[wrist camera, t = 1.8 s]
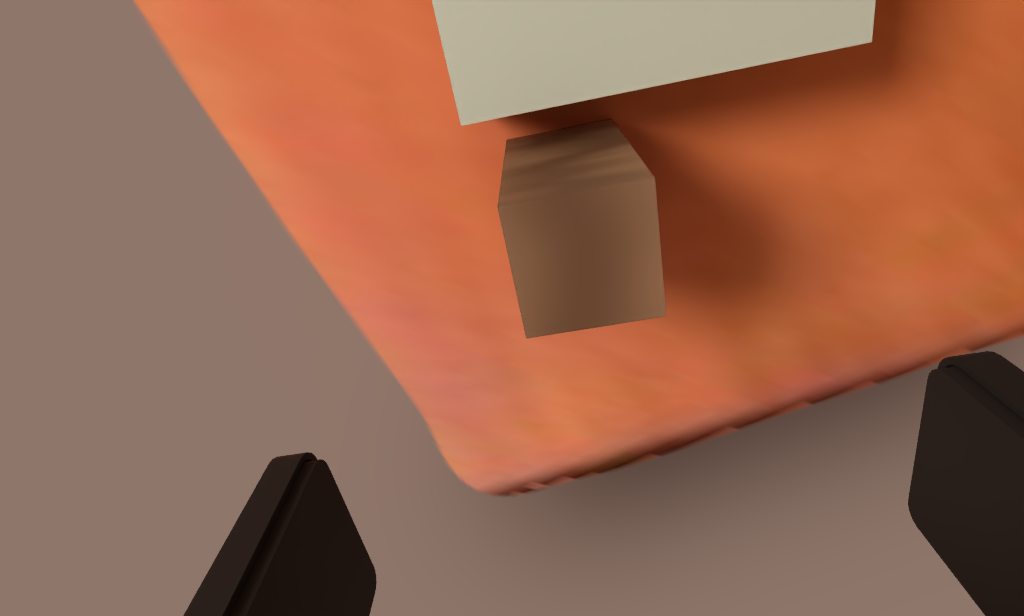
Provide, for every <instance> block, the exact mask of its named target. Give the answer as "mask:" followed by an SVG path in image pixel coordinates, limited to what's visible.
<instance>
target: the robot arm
mask: <svg viewBox="0 0 1024 616" xmlns="http://www.w3.org/2000/svg"><path fill="white" fill-rule="evenodd" d="M908 506H909V511H910V514H911V517H912V519H913V521H914V523H915V524H916V526H917V527H918V529H919V530H920V531H921V533H922V534H923V535H924V537H925V538H926V539H927V540H928V542H929V543H930V544H931V546H932V547H933V548H934V550H935V551H936V552H937V553H938V555H939V556H940V557H941V559H942V560H943V561H944V563H945V564H946V565H947V566H948V568H949V569H950V570H951V572H952V573H953V574H954V576H955V577H956V578H957V579H958V581H959V582H960V583H961V585H962V586H963V587H964V588H965V590H966V591H967V592H968V594H969V595H970V596H971V598H972V599H973V600H974V602H975V603H976V604H977V605H978V607H979V608H980V609H981V611H982V612H983V613H984V614H985V616H1024V372H1023V371H1022V370H1021V369H1019V368H1018V367H1016V366H1015V365H1013V364H1012V363H1011V362H1009V361H1008V360H1007V359H1005V358H1004V357H1002V356H1001V355H999V354H997V353H995V352H989V351H986V352H980V353H973V354H966V355H959V356H952V357H947V358H945V359H943V360H942V361H941V362H940V363H939V366H938V369H935V370H932V371H931V372H930V373H929V376H928V380H927V386H926V392H925V399H924V405H923V411H922V418H921V424H920V430H919V436H918V443H917V449H916V455H915V461H914V467H913V475H912V480H911V486H910V492H909V499H908ZM375 590H376V573H375V569H374V566H373V564H372V562H371V559H370V557H369V555H368V553H367V551H366V548H365V546H364V544H363V542H362V540H361V537H360V535H359V533H358V531H357V529H356V526H355V524H354V522H353V520H352V517H351V515H350V513H349V511H348V509H347V506H346V504H345V502H344V500H343V498H342V495H341V493H340V491H339V489H338V487H337V484H336V482H335V480H334V478H333V476H332V473H331V471H330V469H329V467H328V465H327V463H326V462H325V461H324V460H317V458H316V457H315V456H314V455H313V454H312V453H308V452H307V453H300V454H294V455H287V456H280V457H276V458H274V459H272V461H271V462H270V463H269V465H268V466H267V468H266V470H265V472H264V473H263V475H262V477H261V479H260V481H259V482H258V484H257V486H256V488H255V489H254V491H253V493H252V495H251V497H250V498H249V500H248V502H247V504H246V506H245V507H244V509H243V511H242V513H241V514H240V516H239V518H238V520H237V521H236V523H235V525H234V527H233V529H232V530H231V532H230V534H229V536H228V538H227V539H226V541H225V543H224V545H223V546H222V548H221V550H220V552H219V553H218V555H217V557H216V559H215V561H214V563H213V564H212V566H211V568H210V569H209V571H208V573H207V575H206V577H205V578H204V580H203V582H202V584H201V586H200V587H199V589H198V591H197V593H196V595H195V596H194V598H193V600H192V601H191V603H190V605H189V607H188V609H187V610H186V612H185V614H184V616H369V614H370V611H371V607H372V602H373V598H374V595H375Z"/></svg>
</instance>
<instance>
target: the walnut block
mask: <svg viewBox="0 0 1024 616" xmlns="http://www.w3.org/2000/svg"><path fill="white" fill-rule="evenodd" d="M498 212H499V216H500V221H501V225H502V230H503V234H504V239H505V244H506V248H507V253H508V257H509V262H510V266H511V271H512V275H513V280H514V285H515V289H516V294H517V298H518V303H519V307H520V312H521V317H522V321H523V326H524V330H525V335H526V338H533V337H539V336H545V335H552V334H558V333H564V332H570V331H577V330H583V329H589V328H596V327H602V326H608V325H614V324H621V323H627V322H633V321H640V320H646V319H652V318H659V317H665V316H666V306H665V294H664V282H663V269H662V257H661V245H660V233H659V221H658V208H657V196H656V184H655V177H654V176H653V175H652V173H651V172H650V170H649V169H648V168H647V166H646V165H645V164H644V162H643V161H642V159H641V158H640V157H639V155H638V154H637V153H636V151H635V150H634V148H633V147H632V146H631V144H630V143H629V142H628V140H627V139H626V137H625V136H624V135H623V133H622V132H621V131H620V129H619V128H618V126H617V125H616V124H615V122H614V121H613V120H612V119H609V120H604V121H599V122H594V123H589V124H584V125H579V126H574V127H569V128H564V129H559V130H554V131H549V132H544V133H539V134H534V135H529V136H524V137H519V138H514V139H509V140H507V141H506V149H505V156H504V164H503V171H502V178H501V186H500V193H499V201H498Z"/></svg>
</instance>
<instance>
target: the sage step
mask: <svg viewBox="0 0 1024 616" xmlns="http://www.w3.org/2000/svg"><path fill="white" fill-rule="evenodd" d="M875 2H876V0H432V3H433V7H434V12H435V16H436V20H437V24H438V29H439V33H440V37H441V42H442V46H443V50H444V54H445V59H446V63H447V67H448V71H449V76H450V80H451V84H452V89H453V93H454V97H455V101H456V106H457V110H458V114H459V118H460V123H461V126H463V125H468V124H473V123H478V122H482V121H487V120H492V119H497V118H502V117H507V116H512V115H517V114H522V113H527V112H532V111H536V110H541V109H546V108H551V107H556V106H561V105H566V104H571V103H576V102H581V101H585V100H590V99H595V98H600V97H605V96H610V95H615V94H620V93H625V92H630V91H635V90H639V89H644V88H649V87H654V86H659V85H664V84H669V83H674V82H679V81H684V80H688V79H693V78H698V77H703V76H708V75H713V74H718V73H723V72H728V71H733V70H738V69H742V68H747V67H752V66H757V65H762V64H767V63H772V62H777V61H782V60H787V59H792V58H796V57H801V56H806V55H811V54H816V53H821V52H826V51H831V50H836V49H841V48H845V47H850V46H855V45H860V44H865V43H870V42H872V36H873V24H874V13H875Z"/></svg>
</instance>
